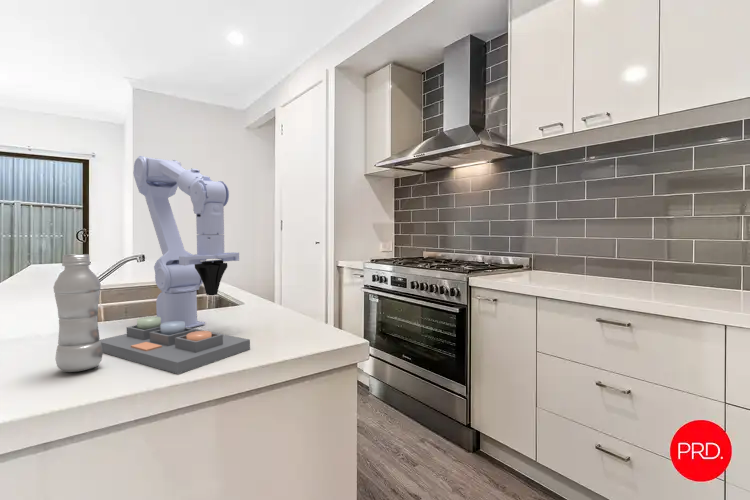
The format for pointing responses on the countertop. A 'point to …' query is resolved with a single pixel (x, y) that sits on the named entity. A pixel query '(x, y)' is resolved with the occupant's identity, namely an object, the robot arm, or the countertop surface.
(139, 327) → the button sage
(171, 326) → the button slate
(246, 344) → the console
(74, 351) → the plastic bottle
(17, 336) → the countertop surface
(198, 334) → the button terracotta
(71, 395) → the countertop surface
